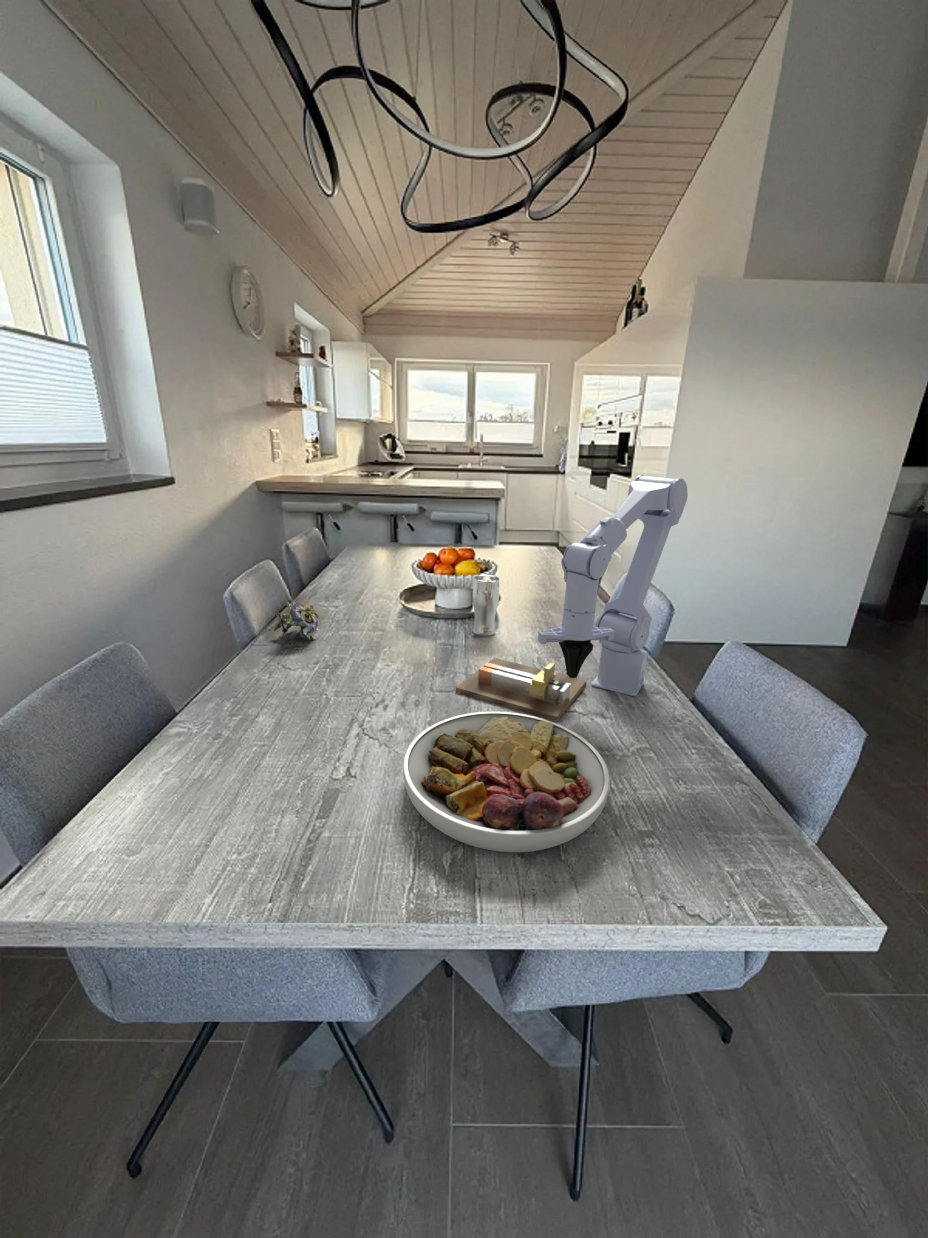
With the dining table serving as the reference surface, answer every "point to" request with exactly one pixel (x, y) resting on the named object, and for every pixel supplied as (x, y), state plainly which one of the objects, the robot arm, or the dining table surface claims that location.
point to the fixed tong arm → (521, 685)
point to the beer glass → (485, 604)
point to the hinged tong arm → (522, 674)
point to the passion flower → (300, 620)
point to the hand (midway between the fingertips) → (571, 675)
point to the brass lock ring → (542, 681)
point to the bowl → (505, 781)
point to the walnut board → (519, 701)
